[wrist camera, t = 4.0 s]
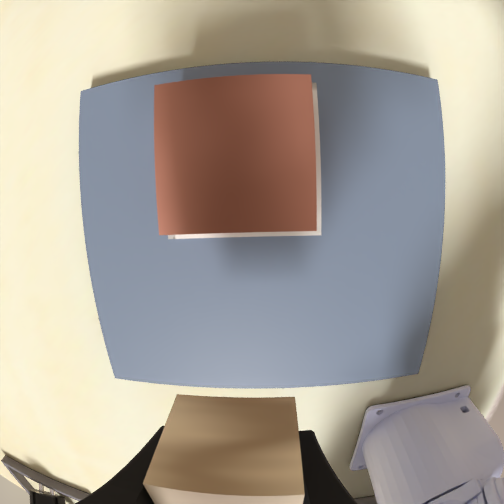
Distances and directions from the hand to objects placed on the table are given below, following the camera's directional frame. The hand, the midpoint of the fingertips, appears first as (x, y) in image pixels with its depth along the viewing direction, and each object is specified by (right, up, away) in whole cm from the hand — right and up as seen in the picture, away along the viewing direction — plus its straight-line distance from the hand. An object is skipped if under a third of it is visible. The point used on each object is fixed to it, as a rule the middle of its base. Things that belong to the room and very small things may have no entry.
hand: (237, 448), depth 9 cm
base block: (0, +11, +5) cm, 12 cm away
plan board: (+1, +8, +7) cm, 10 cm away
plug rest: (-29, -30, +17) cm, 45 cm away
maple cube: (0, 0, +1) cm, 1 cm away
